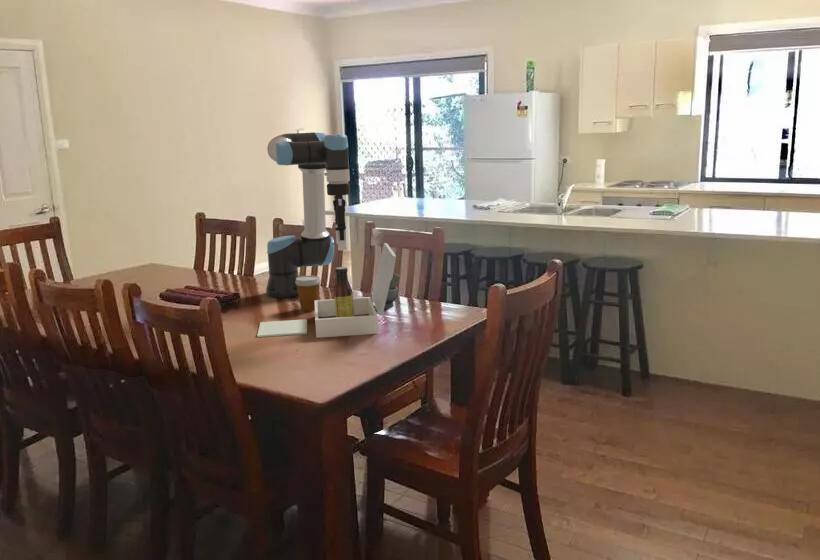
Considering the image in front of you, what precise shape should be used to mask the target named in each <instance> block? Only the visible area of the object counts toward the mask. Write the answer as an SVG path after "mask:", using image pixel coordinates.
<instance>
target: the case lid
mask: <svg viewBox="0 0 820 560" xmlns="http://www.w3.org/2000/svg"><path fill="white" fill-rule="evenodd" d="M382 246H383V247H382V249H381V254H380V259H379V262H378V268H377V272H376V275H375V276H376V277H375V280H374V285H373V287H372V288H373V292H372V294H371V300H372V302H373V305H374V307H375V308H376V309H375V310H376V313H377V315H378V316H383V315H384V311H385V308H384V307H385V303H386V299H387V294H388V290H389V286H390V282H391V280H392V278H393V274H394V269H395V264H396V259H397V255H396V254H395V252H394V251H393V249H392V248H391V246H390V245H389V244H388V242H387V243H386V242H383V245H382Z"/></svg>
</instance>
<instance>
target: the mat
mask: <svg viewBox="0 0 820 560" xmlns="http://www.w3.org/2000/svg"><path fill="white" fill-rule="evenodd" d="M307 334H308V319H307V318H305V319H292V320H274V321H260V323H259V327H258V331H257V334H256V335H257V337H256V338H267V337H279V336H280V337H282V336H284V337H285V336H297V335H307Z"/></svg>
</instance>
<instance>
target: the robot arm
mask: <svg viewBox="0 0 820 560" xmlns="http://www.w3.org/2000/svg"><path fill="white" fill-rule="evenodd" d="M348 141H349V140H348V135H346V134H326V133H325V132H312V131H311V132H297V133H296V132H295V133H284V134H280V135H277V136H275V137H273V138H272V139H271V140H270V141H269V142H268V144H267V154H268V156H269V158H270V159H271V160H273V161H274V162H276V164H277V165H278V166H297V169H299V170H300V171H301V172H302V197H303V201H302V202H303V222H304V225H303V227H304V230H302V232H301V234H300V238H297V237H296V236H295V235H294V234H293V235H284V236H278V237H274V238H272V239H270V240H268V242H267V246H266V249H267V251H266V254H267V261H268V275H269V276H268V278H267V279H268V280H267V285H266V289H265V293H266V295H265V296H267V297H269V298H279V299H280V298H281V299H282V298H284V299H285V298H292V297H297V296H299V295H298V290H297V285H296V283H295V281H296V278H297V277H300V275H299V271H298V270H299V269H298V268H306V267H308V268H309V267H321V266H326V265H331V263H332V262H333V258H334V253H335V241H336V245H337V249H338V250H337V251H347V249H348V248H347V231H346V230H347V229H346V228H347V226H346V215H345V213H346V205H347V204H346V200H345V199H344V197H343V196H348V195H350V194H351V185H350V184H351V183H349V182H350V180H351V177H350V164H349V163H350V162H349V143H348ZM325 171H326V172H325ZM325 177H326V182H327V184H326V193H327V196H334V197H333V198H334V200H332V206H333V210H334V211H333V212H334V216H335V217H334V218H335V219H334V221H335V229H334V230H335V237H336V238H335V239H336V240H335V241H334V237H333V236H330V232H329V231H328V230H327V229H326V227H327V226H326V225H327V224H326V222H327V221H326V200H325V199H326V198H325V197H326V195H325V194H326V193H325Z"/></svg>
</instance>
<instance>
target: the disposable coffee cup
mask: <svg viewBox="0 0 820 560" xmlns="http://www.w3.org/2000/svg"><path fill="white" fill-rule="evenodd" d="M321 281H322V280H321V278H320V276H319V275H302V276H299V277H297V278H296V281H295V283H296V285H297V290H298V295H297V296H298V299H299V306H300V309H301V311H302V312H315V302H314V300H320V299H319V298H320V288H321V287H320V286H321Z"/></svg>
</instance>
